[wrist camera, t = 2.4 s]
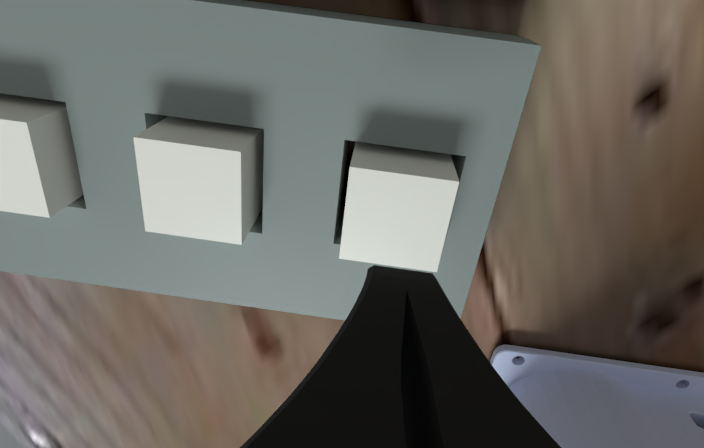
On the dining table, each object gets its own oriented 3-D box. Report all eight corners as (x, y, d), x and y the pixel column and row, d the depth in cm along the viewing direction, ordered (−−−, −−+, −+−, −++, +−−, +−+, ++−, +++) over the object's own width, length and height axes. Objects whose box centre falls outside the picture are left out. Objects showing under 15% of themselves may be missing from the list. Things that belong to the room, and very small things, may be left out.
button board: (518, 35, 14) (541, 45, 12) (448, 294, 19) (455, 336, 16) (-53, -39, 14) (-135, -43, 12) (24, 234, 19) (-25, 267, 17)
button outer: (82, 101, 15) (26, 122, 12) (96, 185, 16) (49, 217, 14) (-8, 89, 15) (-80, 108, 12) (15, 174, 16) (-46, 204, 14)
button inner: (449, 151, 14) (459, 181, 12) (431, 231, 16) (436, 272, 14) (356, 138, 14) (349, 166, 12) (346, 220, 16) (338, 258, 14)
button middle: (264, 125, 14) (240, 151, 12) (262, 208, 16) (241, 244, 14) (172, 113, 14) (133, 137, 12) (179, 197, 16) (145, 231, 14)
